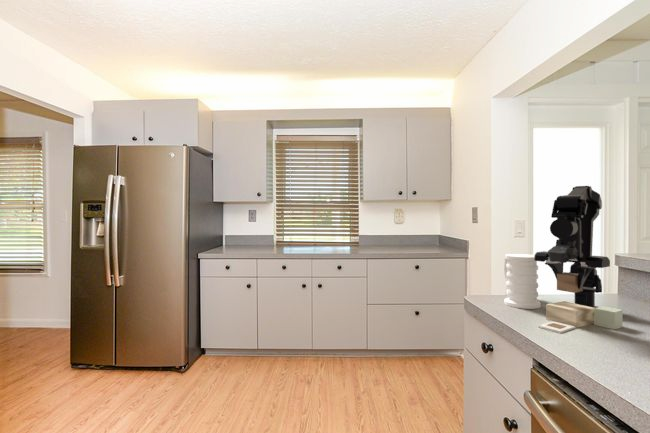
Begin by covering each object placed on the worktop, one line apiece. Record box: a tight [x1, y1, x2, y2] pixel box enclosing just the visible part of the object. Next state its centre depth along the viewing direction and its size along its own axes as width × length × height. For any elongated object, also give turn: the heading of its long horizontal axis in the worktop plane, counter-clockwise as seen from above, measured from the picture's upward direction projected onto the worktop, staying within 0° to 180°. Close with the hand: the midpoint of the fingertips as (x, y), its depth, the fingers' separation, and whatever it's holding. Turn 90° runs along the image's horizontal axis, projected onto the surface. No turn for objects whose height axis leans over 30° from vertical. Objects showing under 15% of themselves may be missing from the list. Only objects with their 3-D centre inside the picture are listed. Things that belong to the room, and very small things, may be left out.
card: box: [538, 321, 576, 334], centre depth 103 cm, size 8×6×1 cm
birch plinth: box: [545, 300, 595, 329], centre depth 109 cm, size 9×9×5 cm
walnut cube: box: [556, 271, 583, 294], centre depth 109 cm, size 5×5×5 cm
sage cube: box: [594, 305, 623, 330], centre depth 104 cm, size 5×5×5 cm
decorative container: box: [504, 253, 542, 310], centre depth 129 cm, size 12×12×18 cm
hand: (569, 286), depth 109 cm, fingers closed on walnut cube, 5 cm apart
